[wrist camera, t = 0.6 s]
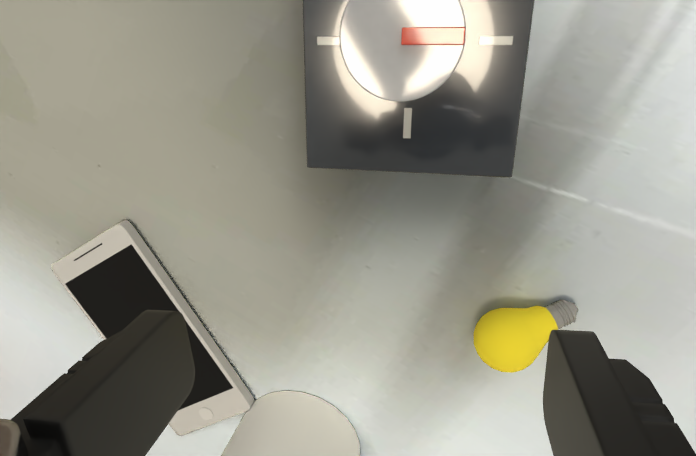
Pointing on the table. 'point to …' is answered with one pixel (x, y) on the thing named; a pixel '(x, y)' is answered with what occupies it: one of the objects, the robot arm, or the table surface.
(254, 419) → the base with upright slab
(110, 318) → the smartphone
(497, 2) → the dark grey flat block
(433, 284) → the table surface
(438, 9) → the rotary knob
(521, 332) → the light bulb
